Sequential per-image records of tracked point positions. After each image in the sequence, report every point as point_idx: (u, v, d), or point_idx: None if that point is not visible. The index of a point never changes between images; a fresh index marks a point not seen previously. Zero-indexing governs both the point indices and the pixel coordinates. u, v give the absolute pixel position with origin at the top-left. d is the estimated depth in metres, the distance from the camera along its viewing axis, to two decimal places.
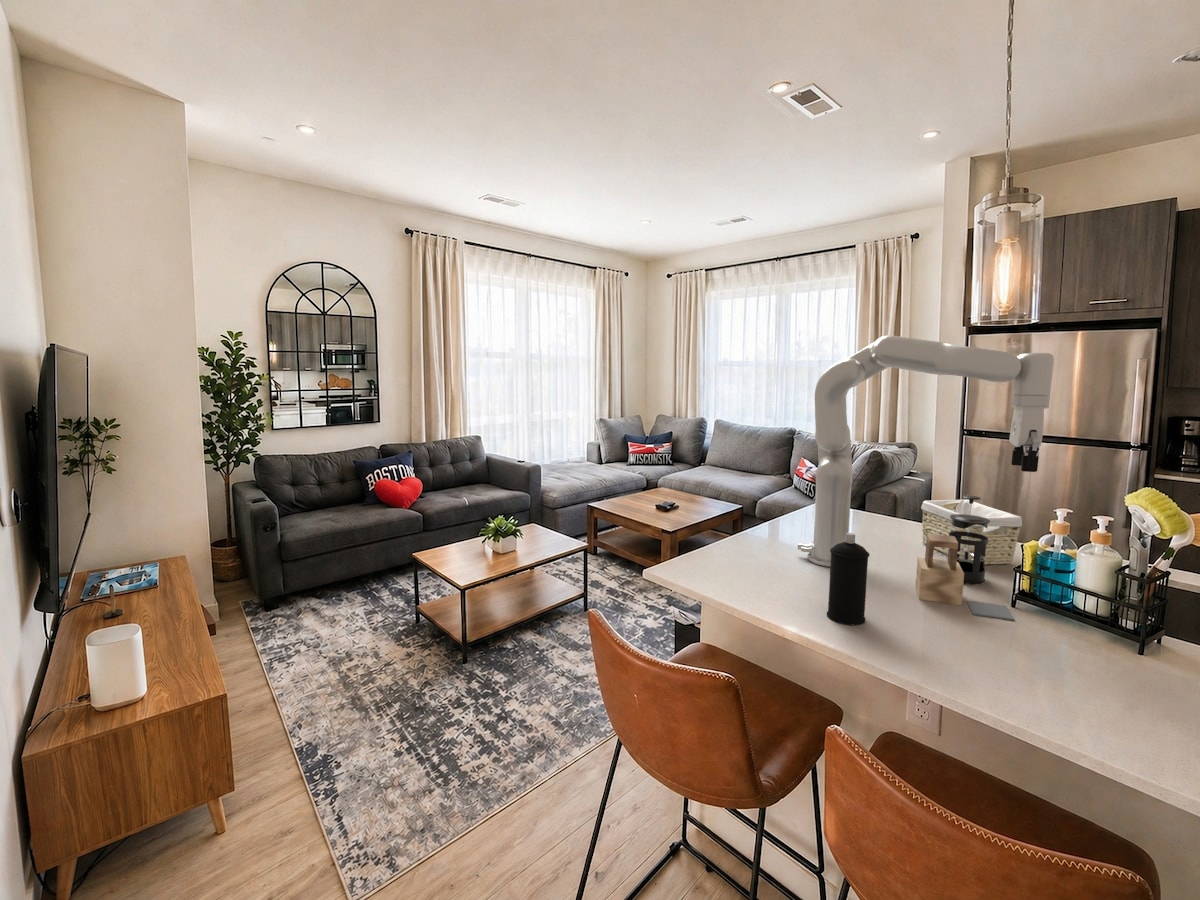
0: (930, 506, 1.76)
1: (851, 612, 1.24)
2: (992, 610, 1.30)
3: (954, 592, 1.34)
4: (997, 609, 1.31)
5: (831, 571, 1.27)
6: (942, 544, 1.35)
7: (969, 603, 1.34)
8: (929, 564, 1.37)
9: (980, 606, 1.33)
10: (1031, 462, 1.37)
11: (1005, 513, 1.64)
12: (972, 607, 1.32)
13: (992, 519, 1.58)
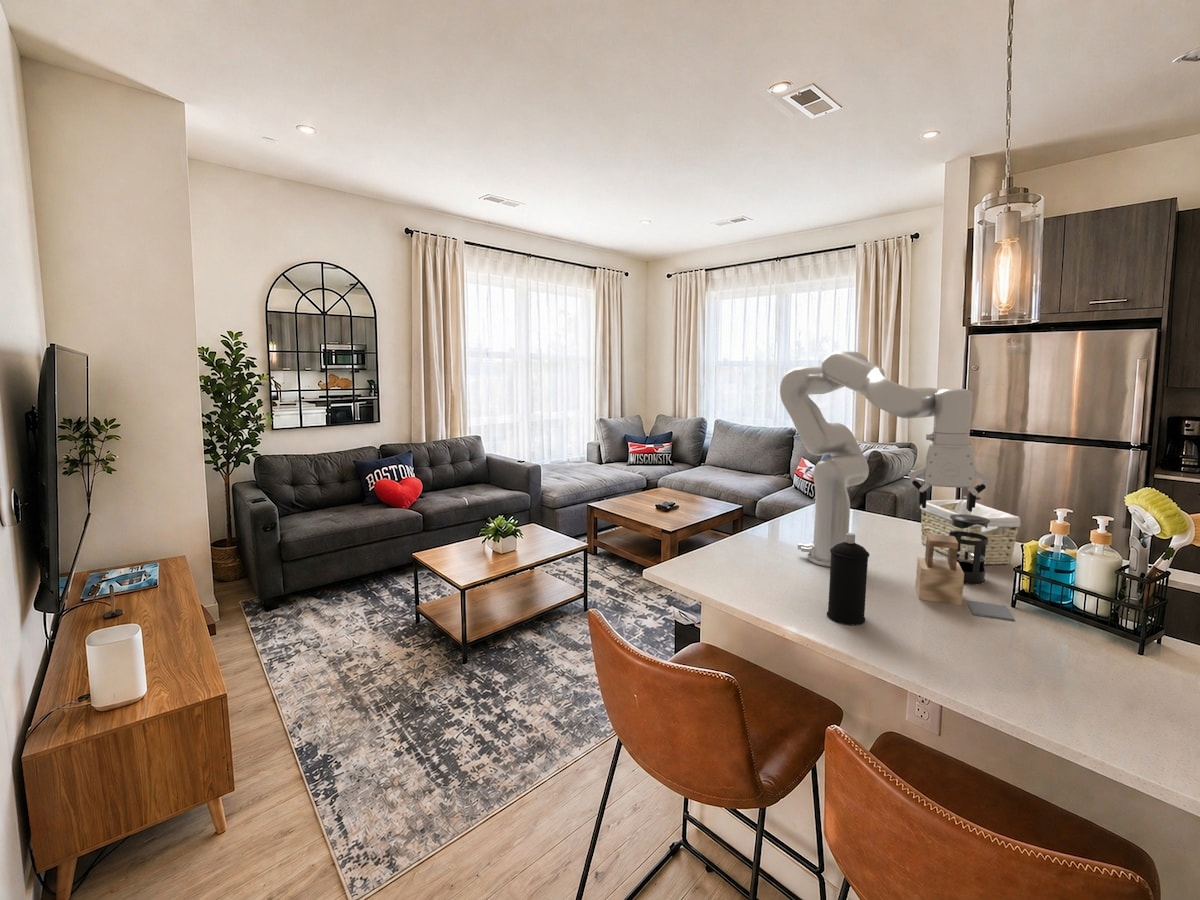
0: (929, 506, 1.76)
1: (851, 612, 1.24)
2: (992, 610, 1.30)
3: (954, 592, 1.34)
4: (997, 609, 1.31)
5: (831, 571, 1.27)
6: (942, 544, 1.35)
7: (969, 603, 1.34)
8: (929, 564, 1.37)
9: (980, 606, 1.33)
10: None
11: (1004, 513, 1.64)
12: (972, 607, 1.32)
13: (990, 519, 1.58)
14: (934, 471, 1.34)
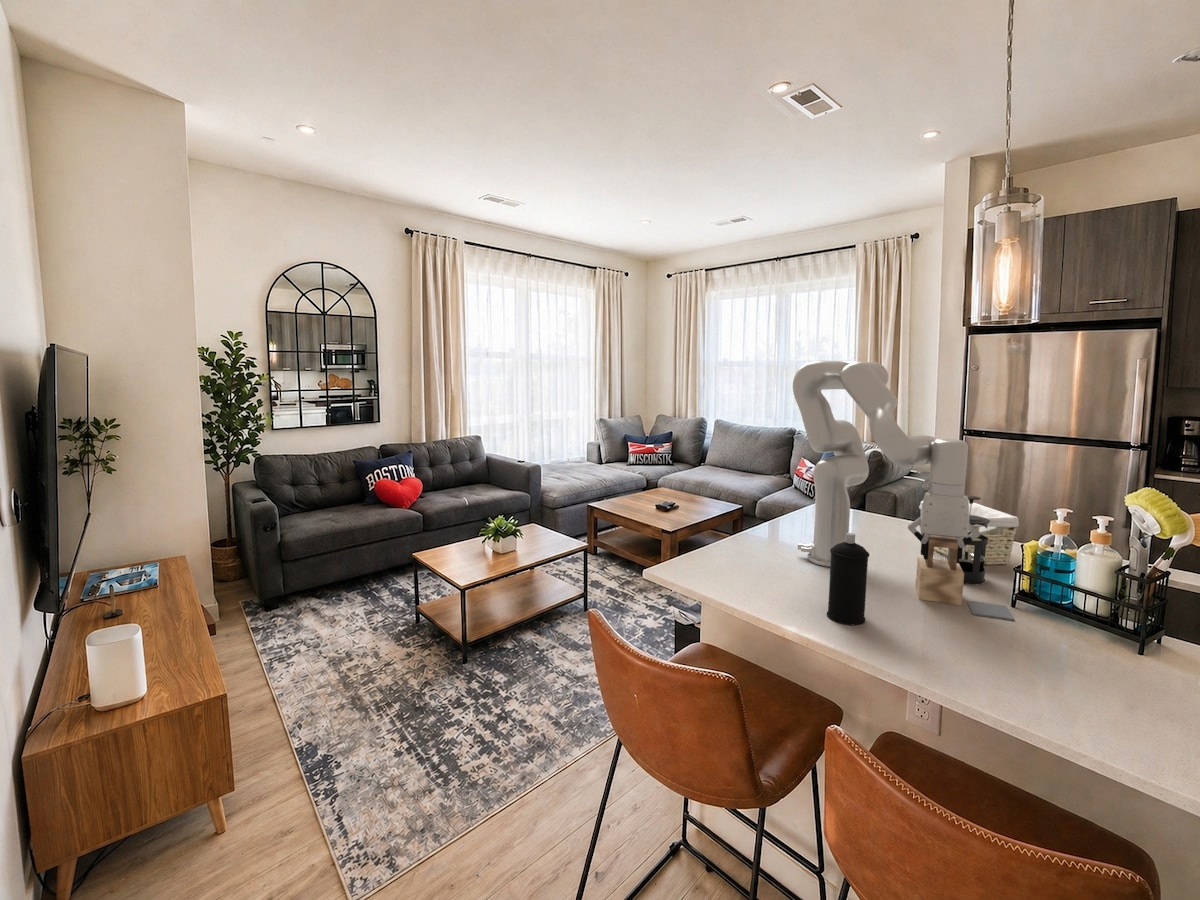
0: None
1: (851, 612, 1.24)
2: (992, 610, 1.30)
3: (954, 592, 1.34)
4: (997, 609, 1.31)
5: (831, 571, 1.27)
6: (942, 544, 1.35)
7: (969, 603, 1.34)
8: (929, 564, 1.37)
9: (980, 606, 1.33)
10: (961, 552, 1.37)
11: (1002, 513, 1.64)
12: (972, 607, 1.32)
13: None
14: (929, 520, 1.36)
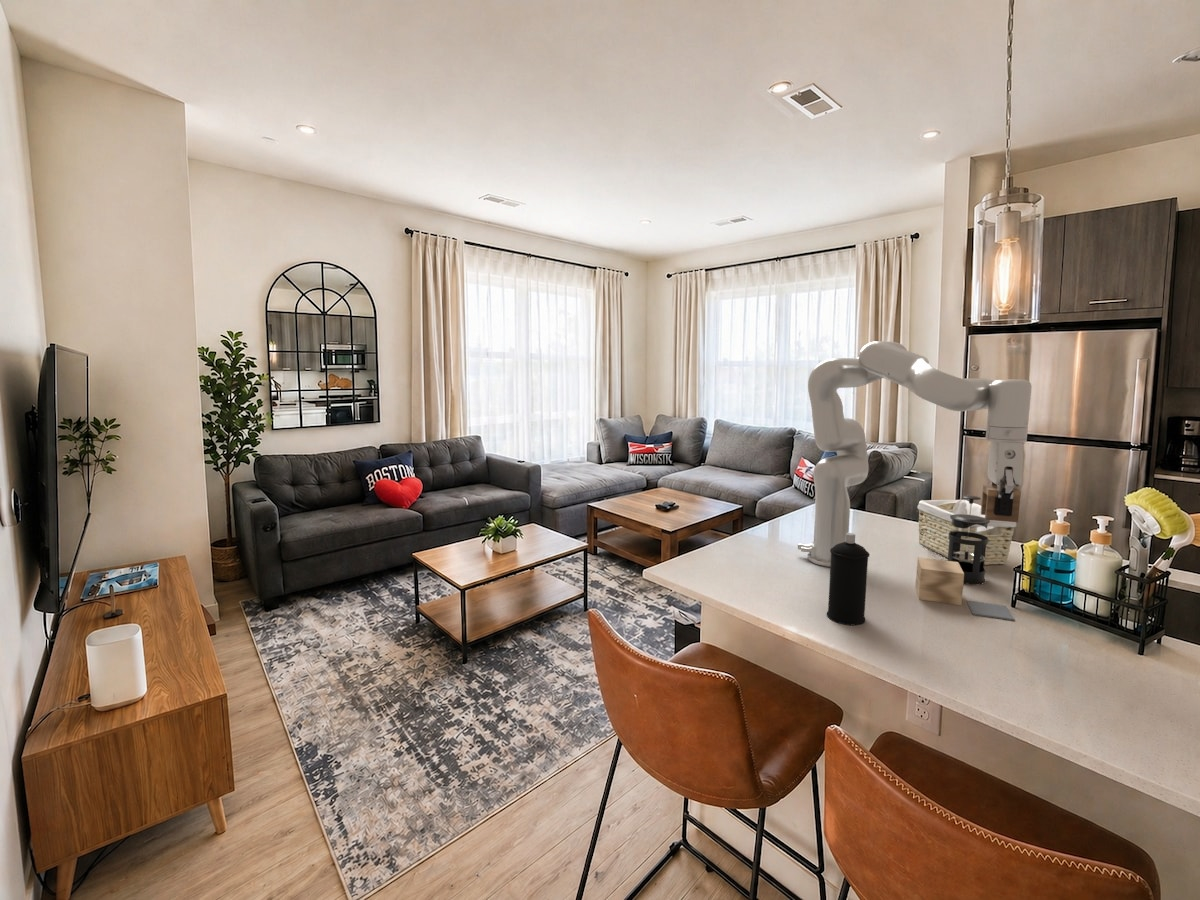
0: (926, 506, 1.76)
1: (851, 612, 1.24)
2: (992, 610, 1.30)
3: (954, 592, 1.34)
4: (997, 609, 1.31)
5: (831, 571, 1.27)
6: None
7: (969, 603, 1.34)
8: None
9: (980, 606, 1.33)
10: None
11: None
12: (972, 607, 1.32)
13: None
14: None
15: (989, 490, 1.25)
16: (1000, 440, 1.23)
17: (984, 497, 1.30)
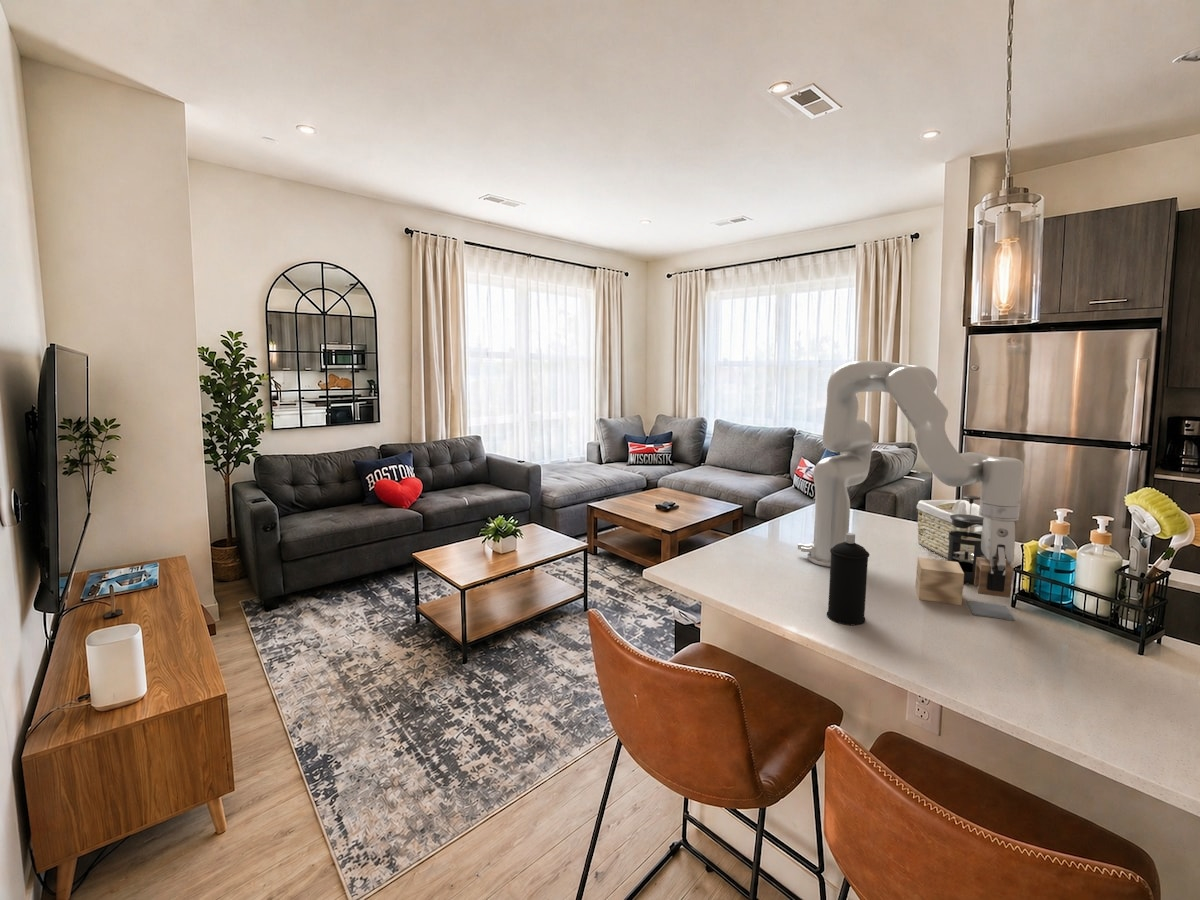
0: (925, 506, 1.76)
1: (851, 612, 1.24)
2: (992, 610, 1.30)
3: (954, 592, 1.34)
4: (997, 609, 1.31)
5: (831, 571, 1.27)
6: None
7: (969, 603, 1.34)
8: None
9: (980, 606, 1.33)
10: None
11: None
12: (972, 607, 1.32)
13: None
14: None
15: (982, 565, 1.28)
16: (993, 518, 1.25)
17: (977, 569, 1.33)
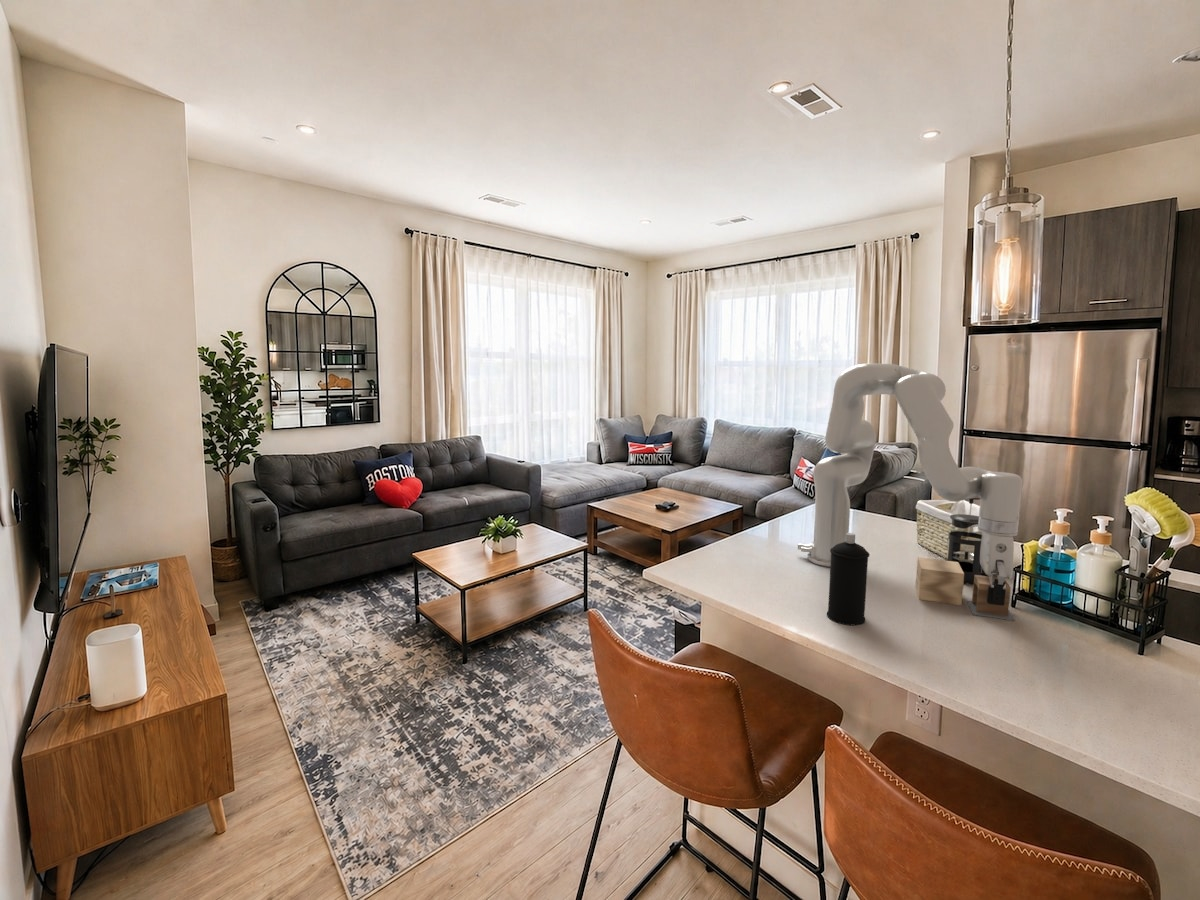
0: (923, 506, 1.76)
1: (851, 612, 1.24)
2: None
3: (954, 592, 1.34)
4: None
5: (831, 571, 1.27)
6: None
7: (969, 603, 1.34)
8: None
9: None
10: None
11: None
12: (972, 607, 1.32)
13: None
14: None
15: (980, 584, 1.29)
16: (991, 533, 1.26)
17: (975, 587, 1.33)
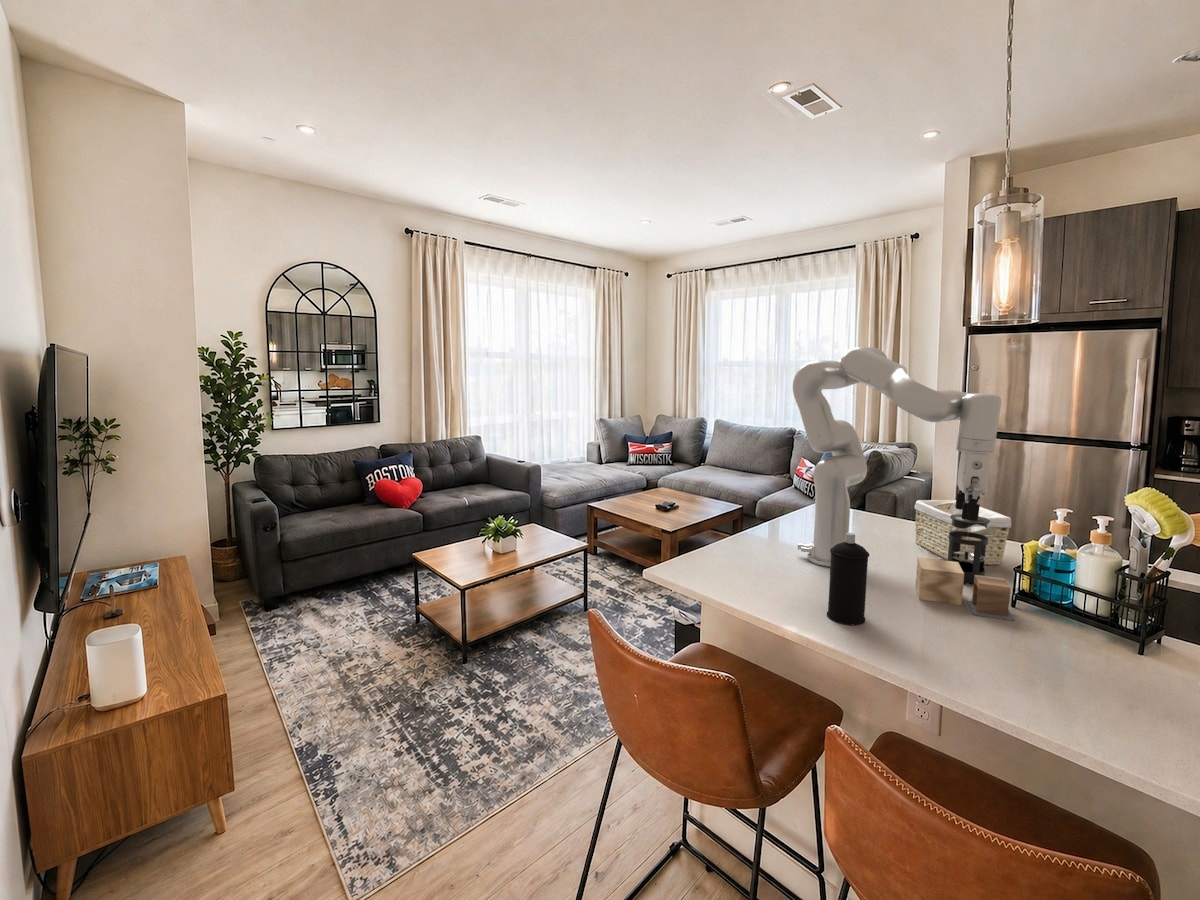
0: (922, 506, 1.76)
1: (851, 612, 1.24)
2: None
3: (954, 592, 1.34)
4: None
5: (831, 571, 1.27)
6: None
7: (969, 603, 1.34)
8: None
9: None
10: None
11: (996, 514, 1.64)
12: (972, 607, 1.32)
13: None
14: None
15: (980, 584, 1.29)
16: (969, 451, 1.30)
17: (975, 587, 1.33)
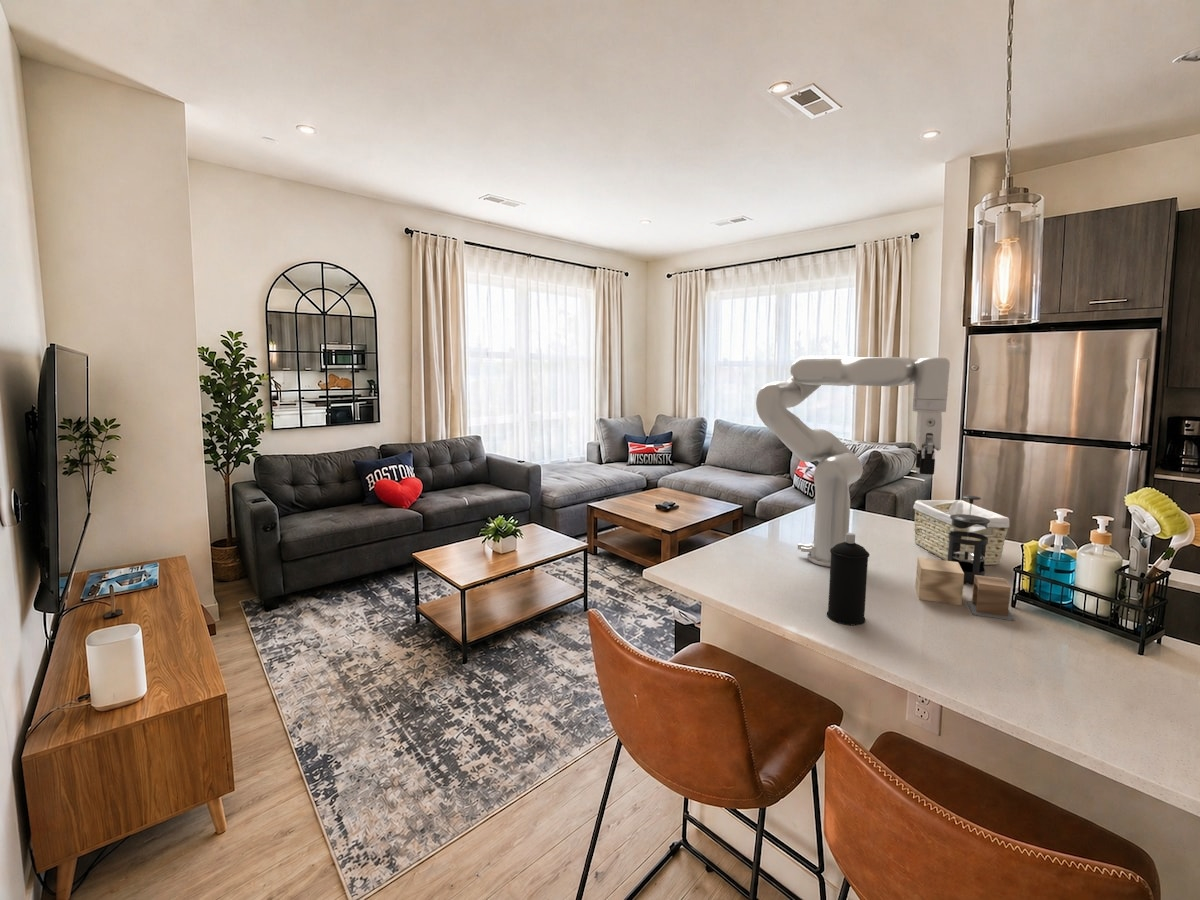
0: (921, 506, 1.76)
1: (851, 612, 1.24)
2: None
3: (954, 592, 1.34)
4: None
5: (831, 571, 1.27)
6: None
7: (969, 603, 1.34)
8: None
9: None
10: None
11: (994, 514, 1.64)
12: (972, 607, 1.32)
13: None
14: None
15: (980, 584, 1.29)
16: (923, 410, 1.41)
17: (975, 587, 1.33)
